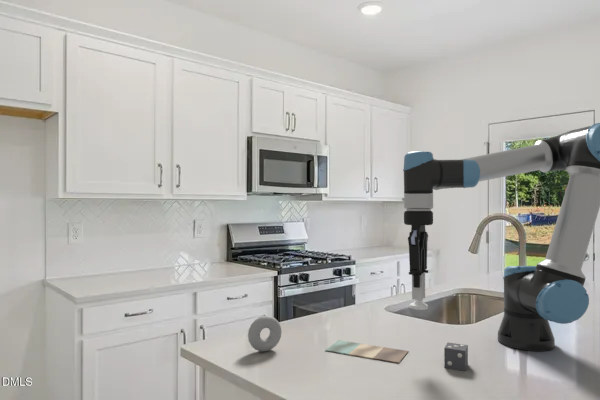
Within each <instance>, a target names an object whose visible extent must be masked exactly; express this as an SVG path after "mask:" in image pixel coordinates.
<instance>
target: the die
mask: <svg viewBox="0 0 600 400" xmlns="http://www.w3.org/2000/svg"><path fill="white" fill-rule="evenodd" d="M443 349H444V355H443V356H444V360H443V362H444V364H443V365H444V366H443V367H444V369H451V370H458V371H463V372H466V370H467V367H468V365H469V355H468V354H469V353H468V352H469V345H467V344H463V343H462V344H461V343H457V342H456V343H455V342H447V343H446V345H445V347H444V348H443Z"/></svg>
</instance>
